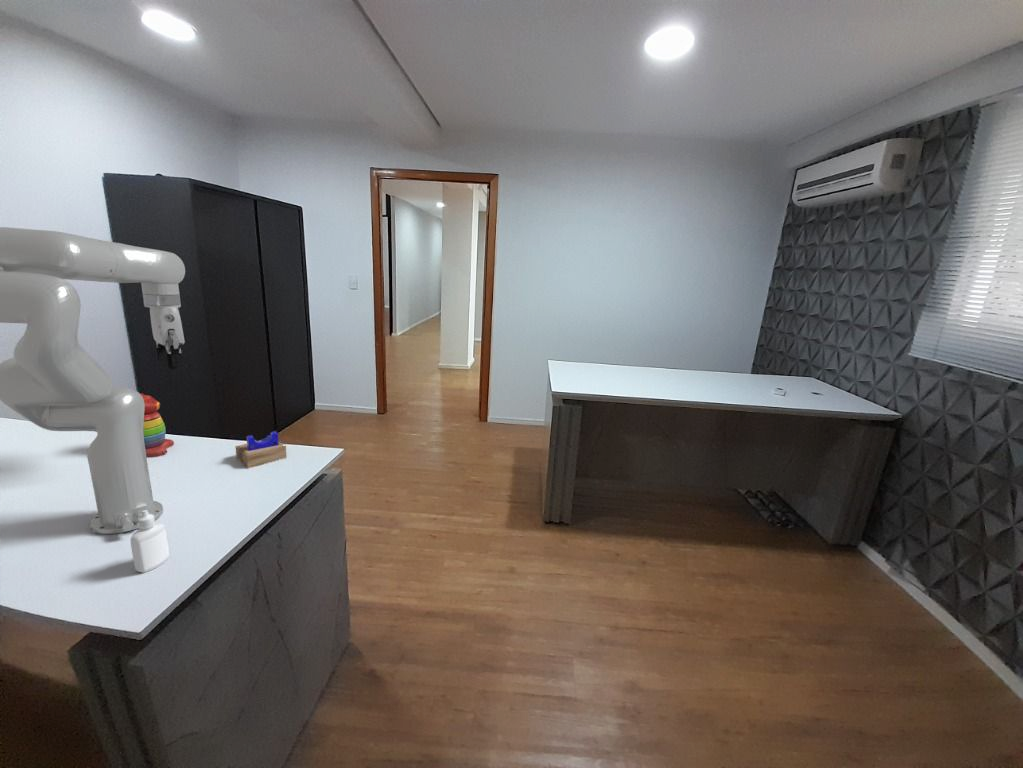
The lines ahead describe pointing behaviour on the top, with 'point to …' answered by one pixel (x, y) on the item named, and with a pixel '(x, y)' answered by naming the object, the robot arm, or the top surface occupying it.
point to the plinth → (260, 454)
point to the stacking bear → (154, 429)
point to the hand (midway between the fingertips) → (170, 364)
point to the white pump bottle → (149, 544)
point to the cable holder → (262, 442)
